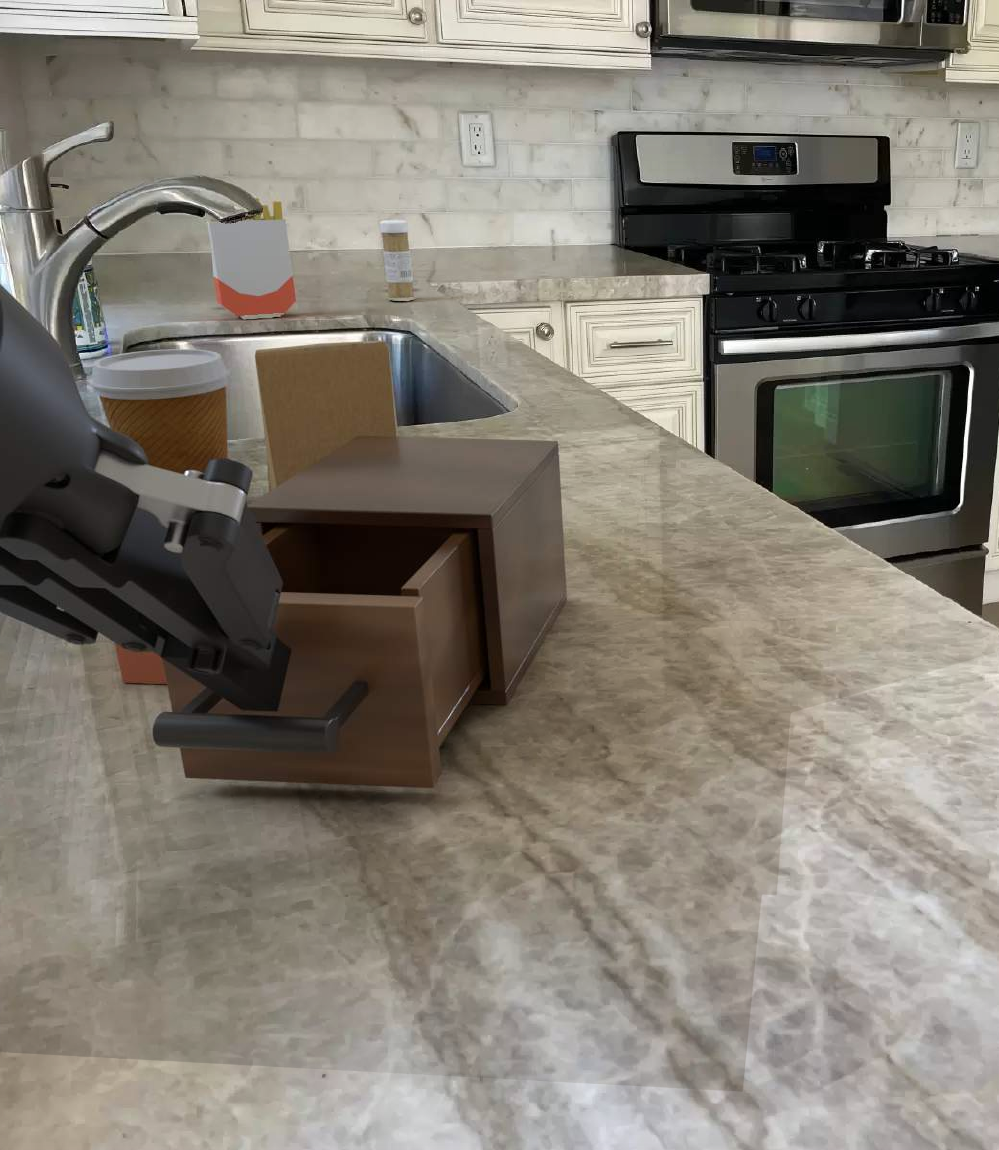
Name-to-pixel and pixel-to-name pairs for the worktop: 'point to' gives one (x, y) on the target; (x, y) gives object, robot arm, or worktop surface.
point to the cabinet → (453, 523)
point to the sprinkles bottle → (397, 258)
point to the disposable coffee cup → (167, 404)
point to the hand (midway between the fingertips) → (266, 679)
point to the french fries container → (252, 264)
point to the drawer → (350, 662)
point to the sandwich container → (322, 401)
